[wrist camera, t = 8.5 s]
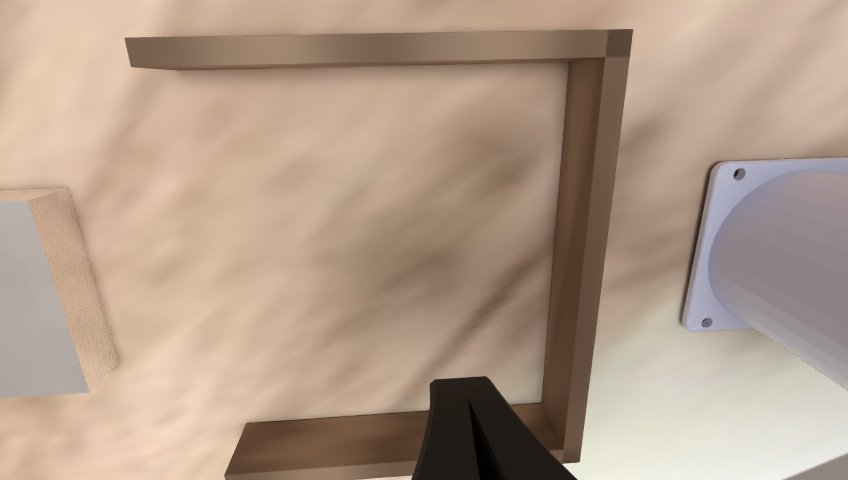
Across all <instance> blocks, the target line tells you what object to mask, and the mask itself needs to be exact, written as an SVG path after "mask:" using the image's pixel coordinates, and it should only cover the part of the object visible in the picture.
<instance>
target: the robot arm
mask: <svg viewBox="0 0 848 480" xmlns="http://www.w3.org/2000/svg"><path fill="white" fill-rule="evenodd" d="M737 169H738V170H739V173H738V175H737V176H736V177H735V178H734V177H733V174H734V172H735V171H736V170H737ZM705 318H707V319H706V321H705V322H703V323H702V321H703V320H704V319H705ZM682 325H683V326H684V327H685V328H686V329H687V330H689V331H690V332H703V331H720V330H736V329H753V328H755V329H756V330H758V331H759V332H761V333H762V334H764V335H765V336H767V337H768V338H770V339H771V340H773V341H774V342H776V343H777V344H779V345H780V346H782V347H783V348H785V349H786V350H788V351H789V352H791V353H792V354H794V355H795V356H797V357H798V358H800V359H801V360H803V361H804V362H806V363H807V364H809V365H810V366H812V367H813V368H815V369H816V370H818V371H819V372H821V373H822V374H824V375H825V376H827V377H828V378H830V379H831V380H833V381H834V382H836V383H837V384H839V385H840V386H842V387H843V388H845V389H846V390H848V157H831V158H803V159H775V160H747V161H724V162H720V163H718V164H717V165H715V167H714V168H713V169H712V172H711V175H710V180H709V185H708V190H707V195H706V200H705V205H704V210H703V215H702V221H701V226H700V231H699V236H698V241H697V246H696V251H695V256H694V261H693V266H692V271H691V276H690V282H689V287H688V292H687V297H686V302H685V307H684V312H683V317H682ZM411 480H577V479H576V478H575V477H574V476H573V475H572V474H571V473H570V472H569V471H568V470H567V469H566V468H565V467H564V466H563V465H562V464H561V463H560V462H559V461H558V460H557V459H556V458H555V457H554V456H553V455H552V453H551V452H550V451H549V450H548V449H547V448H546V447H545V446H544V445H543V444H542V443H541V442H540V440H539V439H538V438H537V437H536V436H535V435H534V434H533V433H532V431H531V430H530V429H529V428H528V427H527V426H526V425H525V424H524V422H523V421H522V420H521V419H520V418H519V416H518V415H517V414H516V413H515V412H514V410H513V409H512V408H511V407H510V405H509V404H508V403H507V402H506V400H505V399H504V398H503V396H502V395H501V394H500V392H499V391H498V390H497V388H496V387H495V386H494V384H493V383H492V382H491V380H490V379H489V378H487V377H486V376H483V377H467V378H452V379H436V380H434V381H433V382H431V383H430V409H429V415H428V421H427V426H426V430H425V434H424V438H423V443H422V447H421V450H420V454H419V457H418V460H417V464H416V467H415V470H414V473H413V476H412V479H411Z"/></svg>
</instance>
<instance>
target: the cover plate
mask: <svg viewBox="0 0 848 480" xmlns="http://www.w3.org/2000/svg"><path fill="white" fill-rule="evenodd" d="M118 363H119V359H118V356H117V352H116V349H115V345H114V342H113V338H112V335H111V332H110V328H109V325H108V321H107V318H106V315H105V311H104V308H103V304H102V301H101V298H100V294H99V291H98V287H97V284H96V280H95V277H94V274H93V270H92V267H91V263H90V260H89V257H88V253H87V250H86V246H85V243H84V240H83V236H82V233H81V229H80V226H79V222H78V219H77V216H76V212H75V209H74V205H73V202H72V199H71V195H70V192H69V188H48V189H17V190H0V398H11V397H28V396H44V395H61V394H77V393H90V392H91V391H92V390H93V389H94V388H95V387H96V386H97V385H98V384H99V383H100V382H101V381H102V380H103V379H104V378H105V377H106V376H107V375H108V374H109V373H110V372H111V371H112V370H113V368H114V367H115V366H116V365H117V364H118Z"/></svg>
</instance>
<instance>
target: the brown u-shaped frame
mask: <svg viewBox="0 0 848 480" xmlns="http://www.w3.org/2000/svg"><path fill="white" fill-rule="evenodd" d="M632 34H633V29H616V30H557V31H497V32H438V33H378V34H318V35H259V36H199V37H140V38H125V42H126V47H127V51H128V55H129V60H130V64H131V67H137V68H152V69H166V70H214V69H261V68H308V67H355V66H402V65H449V64H496V63H544V62H569V73H568V85H567V97H566V110H565V122H564V134H563V146H562V159H561V171H560V183H559V195H558V208H557V220H556V232H555V244H554V257H553V269H552V281H551V293H550V306H549V318H548V330H547V343H546V355H545V367H544V379H543V392H542V403H538V404H524V405H510V407H511V408H512V409H513V410H514V412H515V413H516V414H517V415H518V416H519V418H520V419H521V420H522V421H523V422H524V424H525V425H526V426H527V427H528V428H529V429H530V430H531V431H532V433H533V434H534V435H535V436H536V437H537V438H538V439H539V440H540V442H541V443H542V444H543V445H544V446H545V447H546V448H547V449H548V450H549V451H550V452H551V453H552V455H553V456H554V457H555V458H556V459H557V460H558V461H559V462H560V463H561V464H564V463H577V462H580V455H581V446H582V438H583V430H584V422H585V414H586V406H587V398H588V390H589V382H590V374H591V366H592V357H593V349H594V341H595V333H596V325H597V317H598V309H599V301H600V293H601V285H602V277H603V269H604V260H605V252H606V244H607V236H608V228H609V220H610V212H611V204H612V196H613V188H614V180H615V171H616V163H617V155H618V147H619V139H620V131H621V123H622V115H623V107H624V99H625V91H626V83H627V74H628V66H629V58H630V50H631V42H632ZM428 415H429V411H422V412H408V413H393V414H379V415H364V416H350V417H335V418H321V419H306V420H292V421H277V422H263V423H248V424H246V426H245V428H244V430H243V433H242V435H241V437H240V440H239V442H238V444H237V447H236V449H235V451H234V454H233V456H232V458H231V461H230V463H229V465H228V468H227V470H226V472H225V475H224V476H225V480H358V479H371V478H383V477H396V476H409V475H413V473H414V470H415V467H416V464H417V460H418V457H419V454H420V450H421V447H422V443H423V438H424V434H425V430H426V426H427V421H428Z"/></svg>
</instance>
